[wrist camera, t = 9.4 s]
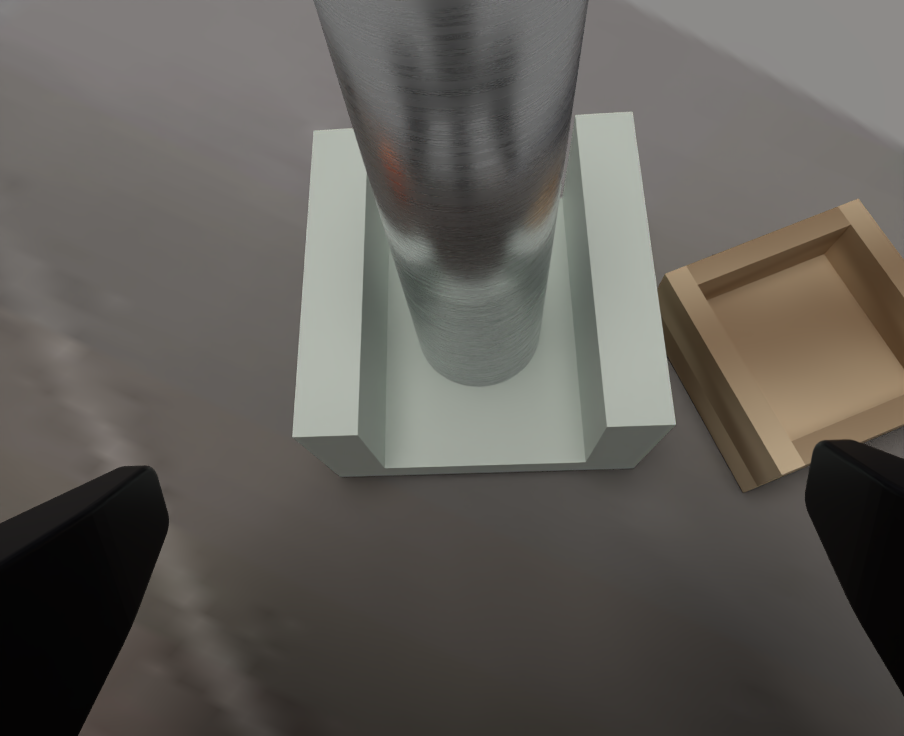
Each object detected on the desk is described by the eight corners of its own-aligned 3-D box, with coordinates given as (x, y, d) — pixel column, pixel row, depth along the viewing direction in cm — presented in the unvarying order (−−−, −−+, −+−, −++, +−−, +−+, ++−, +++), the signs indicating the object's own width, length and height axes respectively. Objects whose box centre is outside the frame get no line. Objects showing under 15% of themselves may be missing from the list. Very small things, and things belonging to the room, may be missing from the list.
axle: (565, 338, 18) (703, -228, 6) (466, 411, 17) (387, -41, 5) (489, 253, 19) (470, -376, 7) (394, 319, 18) (190, -232, 6)
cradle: (633, 468, 18) (676, 424, 13) (340, 477, 18) (292, 437, 14) (604, 214, 20) (632, 111, 16) (351, 227, 21) (313, 130, 17)
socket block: (930, 414, 18) (997, 385, 15) (743, 493, 17) (781, 474, 15) (815, 247, 19) (858, 198, 17) (644, 314, 19) (665, 273, 17)
